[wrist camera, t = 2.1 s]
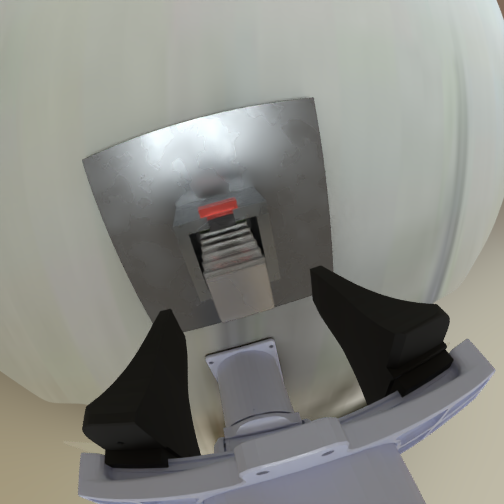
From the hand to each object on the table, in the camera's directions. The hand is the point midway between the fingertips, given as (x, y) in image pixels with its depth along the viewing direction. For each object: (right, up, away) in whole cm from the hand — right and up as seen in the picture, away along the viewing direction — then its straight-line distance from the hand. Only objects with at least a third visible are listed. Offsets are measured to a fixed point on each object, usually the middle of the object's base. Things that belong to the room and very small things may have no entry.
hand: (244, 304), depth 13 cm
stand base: (-2, +5, +9) cm, 10 cm away
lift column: (-2, +4, +8) cm, 9 cm away
